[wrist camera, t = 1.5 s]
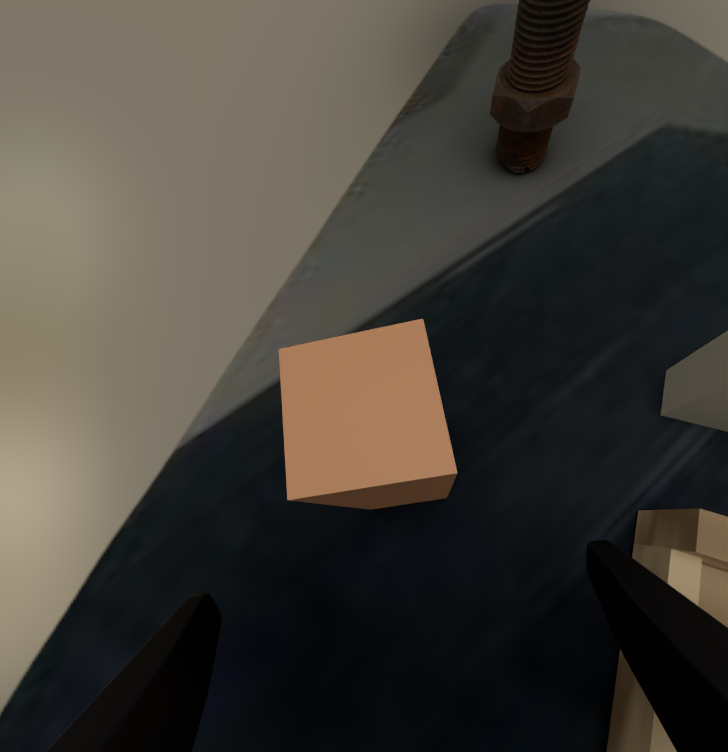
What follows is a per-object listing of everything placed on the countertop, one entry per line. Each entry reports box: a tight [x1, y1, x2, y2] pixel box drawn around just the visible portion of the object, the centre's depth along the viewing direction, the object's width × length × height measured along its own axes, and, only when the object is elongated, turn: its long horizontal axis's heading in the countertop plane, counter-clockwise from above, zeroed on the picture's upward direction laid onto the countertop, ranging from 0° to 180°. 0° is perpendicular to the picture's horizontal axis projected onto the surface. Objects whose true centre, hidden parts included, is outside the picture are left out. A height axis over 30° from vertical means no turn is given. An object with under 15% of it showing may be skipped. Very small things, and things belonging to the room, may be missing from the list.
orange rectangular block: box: [279, 319, 457, 509], centre depth 15 cm, size 4×4×12 cm
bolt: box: [490, 0, 590, 173], centre depth 19 cm, size 6×5×15 cm
